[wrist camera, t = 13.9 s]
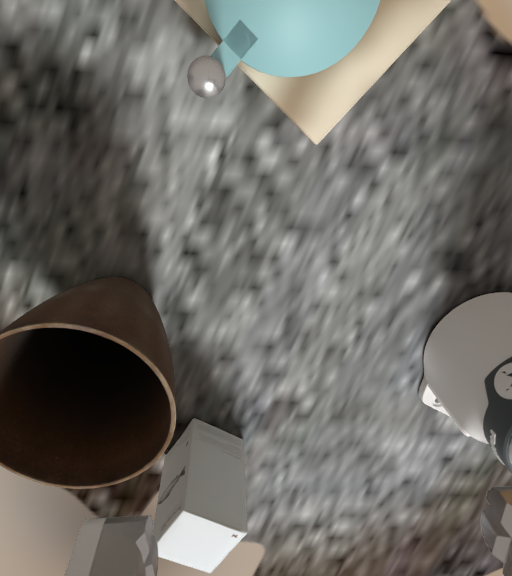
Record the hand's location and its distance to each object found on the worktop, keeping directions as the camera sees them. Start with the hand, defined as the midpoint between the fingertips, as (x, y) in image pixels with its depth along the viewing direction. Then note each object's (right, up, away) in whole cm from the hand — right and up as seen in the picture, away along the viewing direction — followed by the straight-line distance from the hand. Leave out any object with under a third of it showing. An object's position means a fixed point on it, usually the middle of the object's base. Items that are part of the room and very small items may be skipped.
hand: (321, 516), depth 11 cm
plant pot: (-16, +3, +35) cm, 39 cm away
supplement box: (-8, -14, +44) cm, 47 cm away
